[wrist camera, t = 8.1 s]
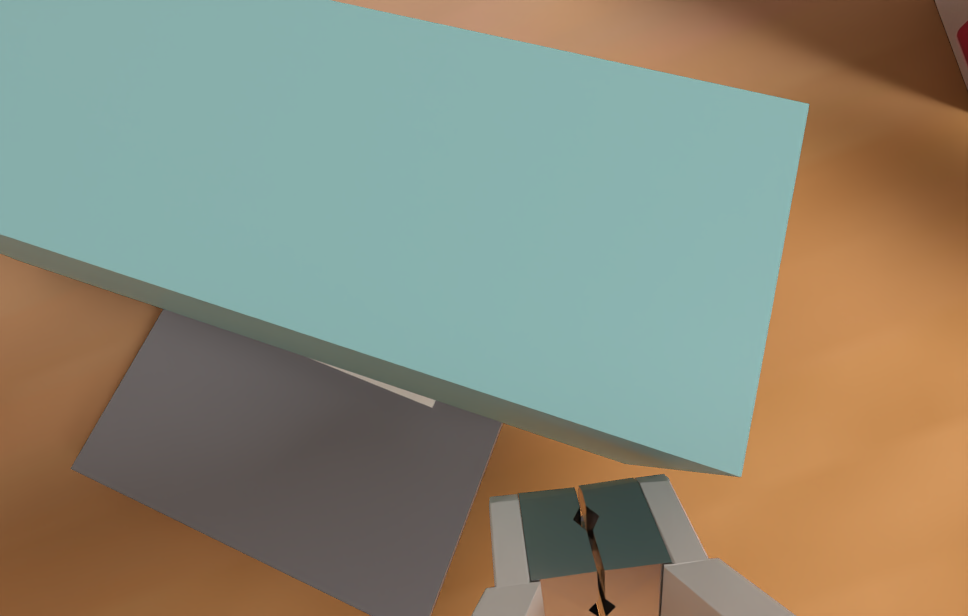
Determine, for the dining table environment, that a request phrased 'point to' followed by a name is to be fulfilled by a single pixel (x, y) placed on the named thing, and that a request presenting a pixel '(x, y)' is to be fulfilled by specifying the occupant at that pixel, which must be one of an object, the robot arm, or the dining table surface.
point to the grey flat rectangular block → (294, 463)
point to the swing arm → (413, 206)
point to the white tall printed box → (956, 30)
